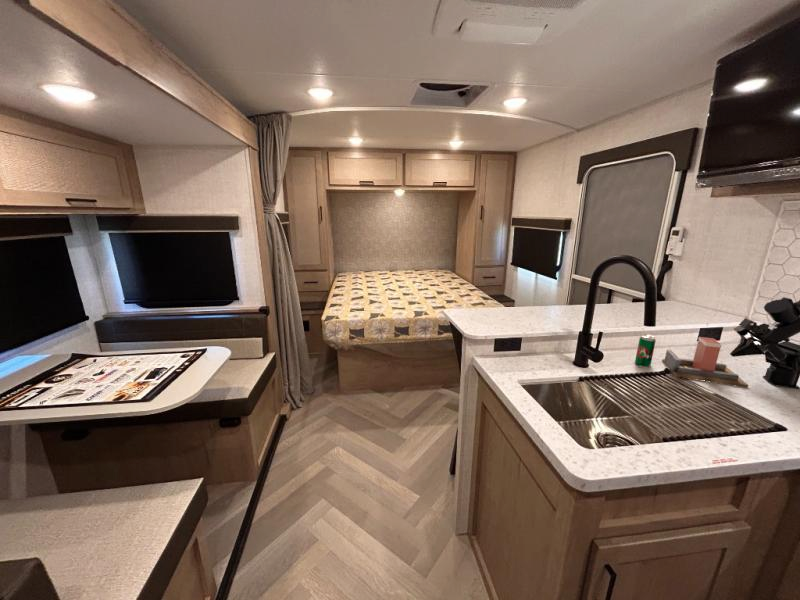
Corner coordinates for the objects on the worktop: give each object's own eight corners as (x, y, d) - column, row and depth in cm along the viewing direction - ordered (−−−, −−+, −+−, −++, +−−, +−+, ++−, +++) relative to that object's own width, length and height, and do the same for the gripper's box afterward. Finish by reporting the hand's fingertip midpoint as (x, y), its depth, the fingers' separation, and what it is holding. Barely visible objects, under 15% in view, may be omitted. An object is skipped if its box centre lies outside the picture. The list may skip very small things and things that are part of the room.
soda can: (645, 361, 128) (650, 334, 125) (653, 367, 123) (659, 339, 120) (631, 361, 128) (637, 333, 125) (639, 366, 124) (645, 338, 120)
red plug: (705, 367, 119) (713, 338, 116) (713, 374, 114) (721, 344, 111) (691, 365, 121) (699, 336, 118) (698, 372, 116) (706, 342, 112)
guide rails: (723, 368, 119) (726, 356, 118) (737, 381, 110) (741, 368, 109) (664, 361, 126) (666, 349, 125) (673, 372, 117) (676, 359, 116)
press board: (726, 369, 120) (727, 367, 120) (747, 387, 108) (748, 385, 108) (662, 361, 128) (662, 358, 128) (675, 377, 116) (675, 374, 115)
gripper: (747, 305, 115) (701, 330, 122) (783, 321, 98) (729, 348, 105) (770, 327, 114) (723, 351, 121) (811, 347, 97) (754, 373, 104)
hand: (731, 355), depth 113 cm, fingers closed
